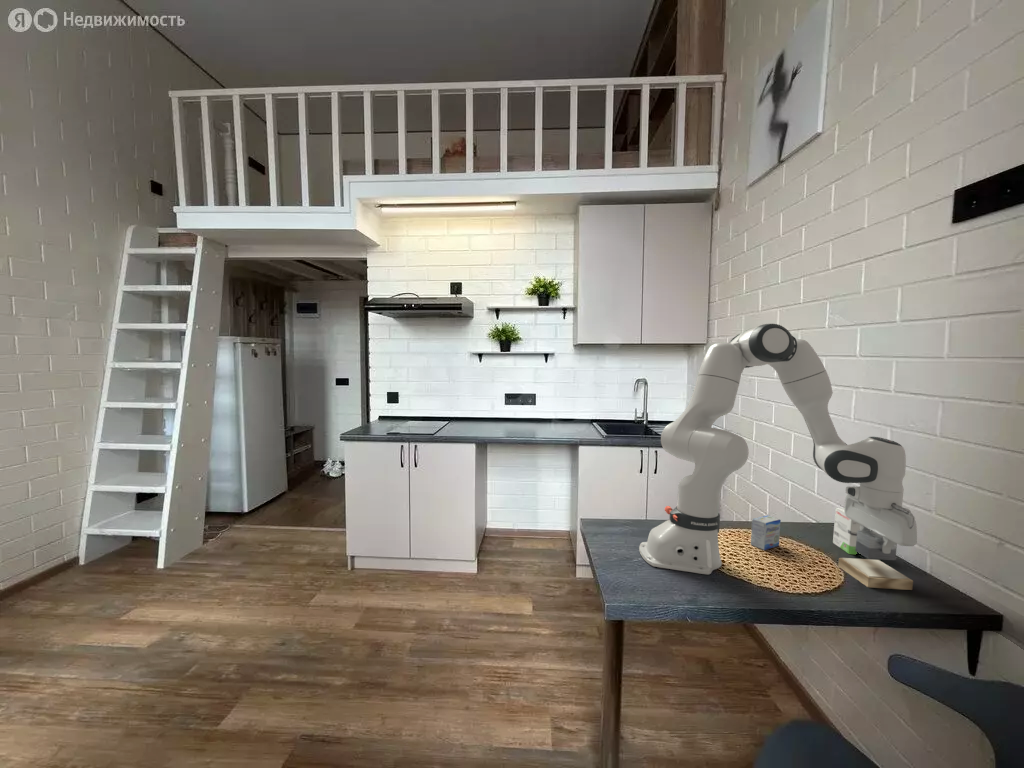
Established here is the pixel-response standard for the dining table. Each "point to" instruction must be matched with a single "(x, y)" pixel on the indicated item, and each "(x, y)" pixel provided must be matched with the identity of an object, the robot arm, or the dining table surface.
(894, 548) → the housing
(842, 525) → the ink box
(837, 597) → the dining table surface
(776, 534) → the medicine box
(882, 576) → the plinth
